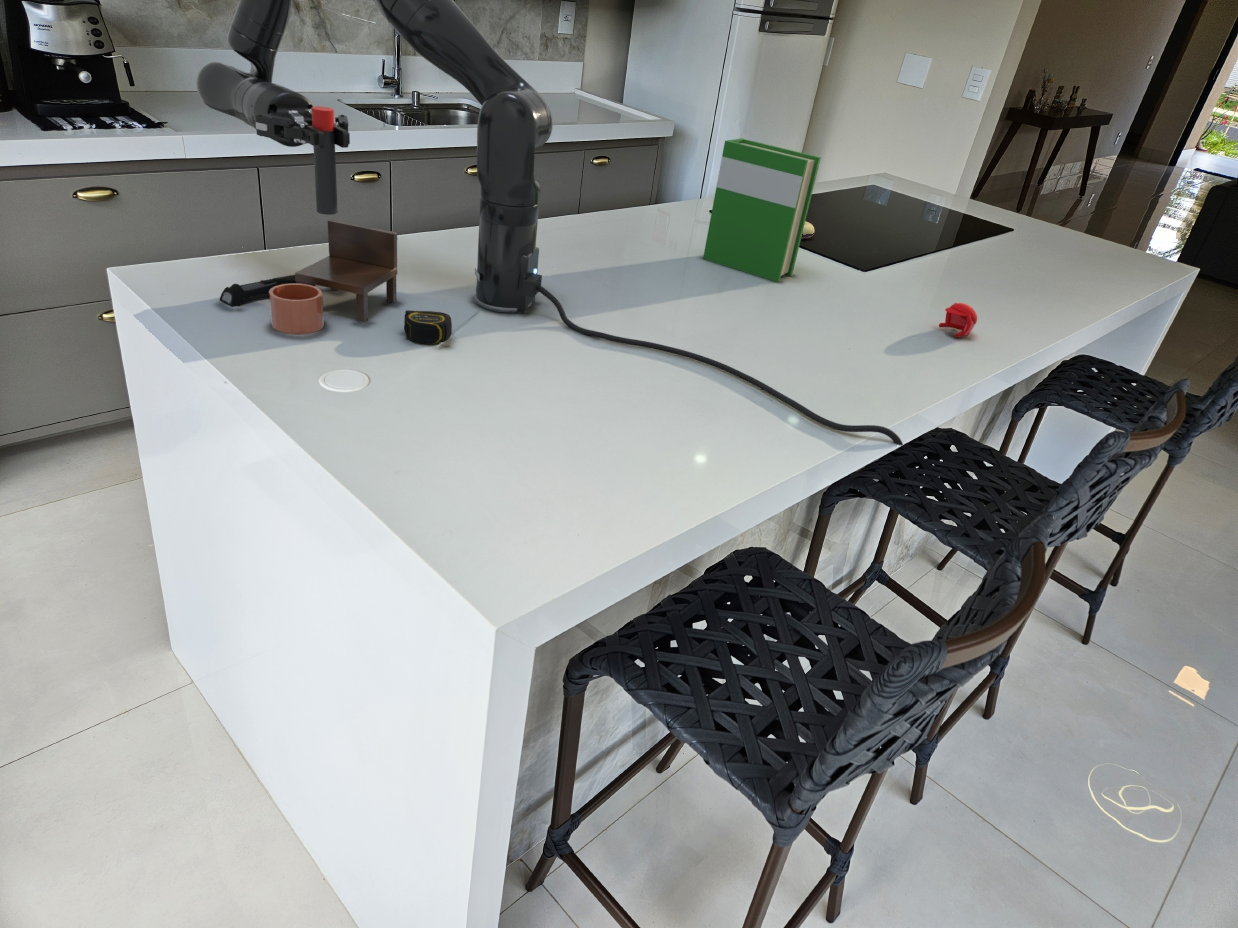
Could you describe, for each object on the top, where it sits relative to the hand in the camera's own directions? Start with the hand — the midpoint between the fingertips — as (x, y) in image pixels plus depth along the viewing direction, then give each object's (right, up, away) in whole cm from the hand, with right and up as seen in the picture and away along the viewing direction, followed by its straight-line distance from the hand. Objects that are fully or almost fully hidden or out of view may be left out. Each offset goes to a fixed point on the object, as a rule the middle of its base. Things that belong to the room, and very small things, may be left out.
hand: (333, 140), depth 112 cm
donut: (+81, +13, +94) cm, 125 cm away
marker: (-3, -8, +7) cm, 11 cm away
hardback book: (+65, -2, +66) cm, 93 cm away
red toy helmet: (+101, -19, +46) cm, 113 cm away
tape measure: (+9, -25, +12) cm, 29 cm away
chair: (-4, -19, +18) cm, 27 cm away
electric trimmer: (-16, -18, +18) cm, 30 cm away
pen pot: (-8, -24, +9) cm, 27 cm away
